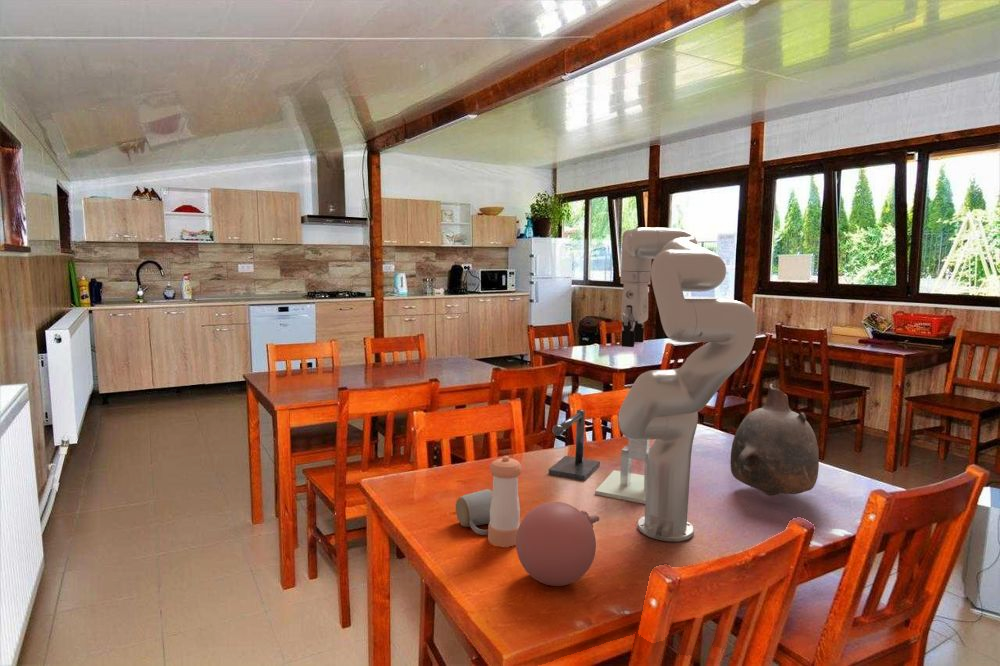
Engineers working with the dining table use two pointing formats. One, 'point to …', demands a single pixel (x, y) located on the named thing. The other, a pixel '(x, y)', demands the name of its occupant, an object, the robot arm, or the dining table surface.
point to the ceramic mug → (474, 510)
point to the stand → (577, 464)
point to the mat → (623, 488)
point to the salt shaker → (504, 502)
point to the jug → (775, 449)
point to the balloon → (556, 543)
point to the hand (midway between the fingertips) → (632, 344)
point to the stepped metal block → (633, 451)
